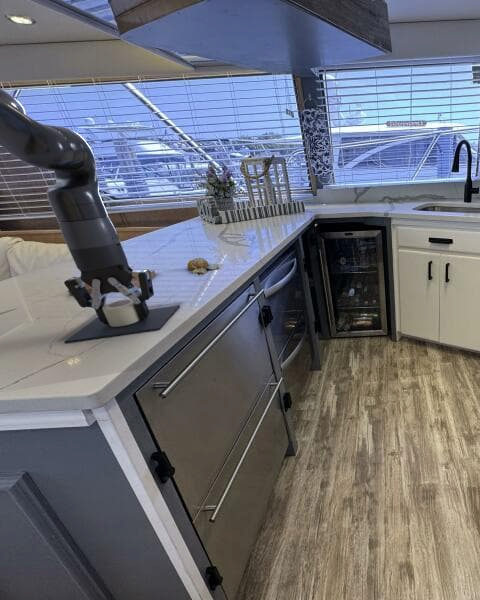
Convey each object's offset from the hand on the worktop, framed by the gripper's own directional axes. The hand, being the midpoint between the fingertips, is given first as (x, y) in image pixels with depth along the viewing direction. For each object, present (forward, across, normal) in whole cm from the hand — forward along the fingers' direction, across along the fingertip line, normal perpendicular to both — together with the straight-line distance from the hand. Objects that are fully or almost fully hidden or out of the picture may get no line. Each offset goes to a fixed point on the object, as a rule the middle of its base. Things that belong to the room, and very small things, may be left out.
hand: (127, 320), depth 68 cm
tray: (+1, -15, +29) cm, 33 cm away
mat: (+1, 0, 0) cm, 1 cm away
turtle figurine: (+1, +5, +36) cm, 36 cm away
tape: (0, 0, 0) cm, 0 cm away
